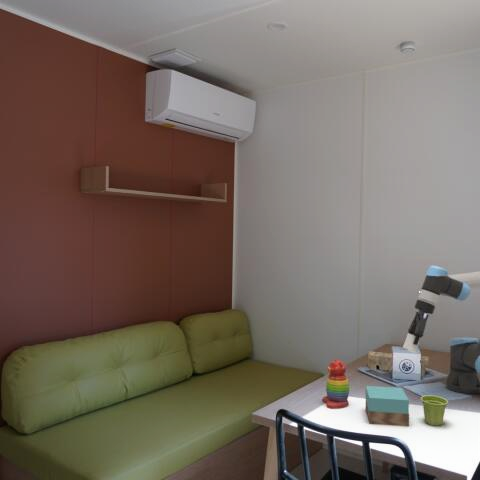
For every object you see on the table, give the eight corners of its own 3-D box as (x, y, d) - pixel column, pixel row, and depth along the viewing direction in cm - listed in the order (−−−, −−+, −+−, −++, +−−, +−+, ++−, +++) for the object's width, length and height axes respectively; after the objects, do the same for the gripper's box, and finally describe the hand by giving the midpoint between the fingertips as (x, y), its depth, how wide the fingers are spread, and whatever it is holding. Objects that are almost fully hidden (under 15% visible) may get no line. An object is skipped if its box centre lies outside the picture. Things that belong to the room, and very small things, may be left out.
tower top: (402, 400, 194) (402, 388, 194) (408, 413, 181) (408, 400, 180) (365, 398, 196) (365, 385, 196) (369, 411, 183) (369, 397, 183)
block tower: (367, 370, 255) (427, 376, 243) (367, 354, 255) (427, 359, 243) (370, 366, 262) (428, 372, 250) (369, 351, 262) (428, 355, 250)
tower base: (402, 413, 194) (402, 400, 194) (408, 427, 181) (409, 413, 180) (365, 411, 196) (365, 398, 196) (369, 424, 183) (369, 411, 182)
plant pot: (446, 419, 187) (446, 397, 187) (448, 429, 178) (448, 405, 178) (420, 416, 190) (420, 394, 190) (420, 425, 181) (421, 402, 181)
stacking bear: (321, 399, 208) (321, 357, 208) (344, 399, 209) (345, 357, 208) (327, 408, 197) (328, 364, 197) (352, 408, 198) (353, 364, 198)
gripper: (412, 298, 218) (395, 344, 217) (423, 298, 194) (404, 349, 193) (429, 305, 216) (412, 350, 215) (442, 306, 192) (423, 357, 191)
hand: (408, 350), depth 204 cm, fingers open, 13 cm apart
